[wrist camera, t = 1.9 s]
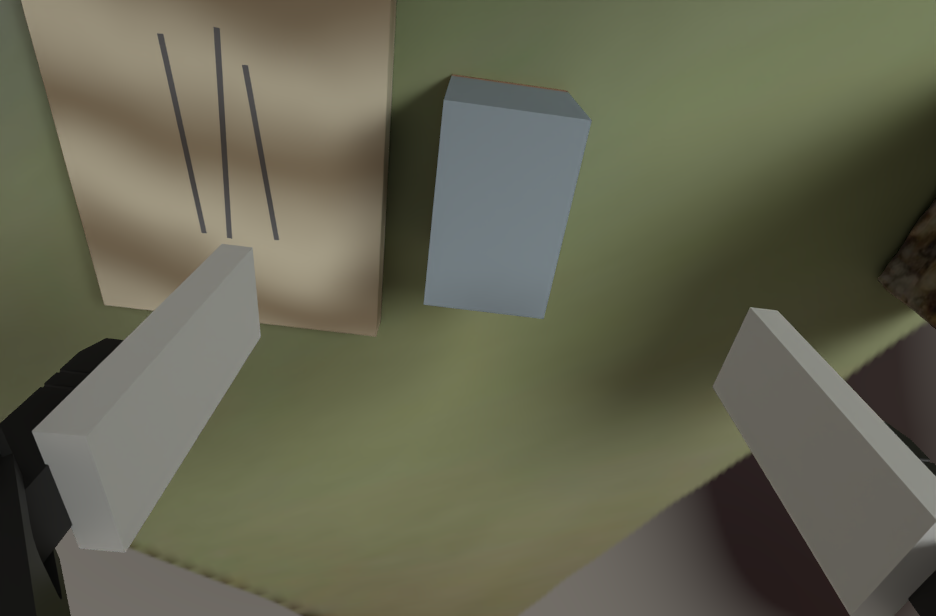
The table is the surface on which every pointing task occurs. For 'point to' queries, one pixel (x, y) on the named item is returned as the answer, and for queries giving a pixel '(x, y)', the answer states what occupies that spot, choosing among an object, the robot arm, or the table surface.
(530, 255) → the block
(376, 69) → the board
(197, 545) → the table surface
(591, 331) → the table surface
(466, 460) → the table surface
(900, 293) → the stone block
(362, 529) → the table surface
